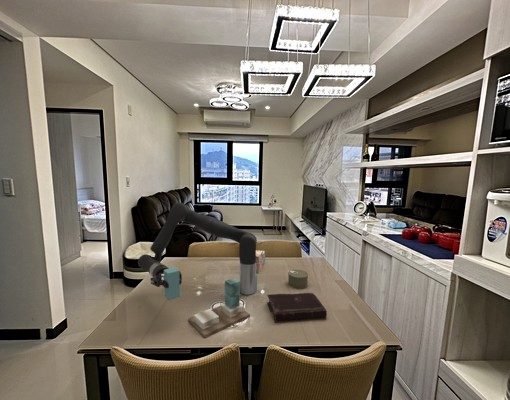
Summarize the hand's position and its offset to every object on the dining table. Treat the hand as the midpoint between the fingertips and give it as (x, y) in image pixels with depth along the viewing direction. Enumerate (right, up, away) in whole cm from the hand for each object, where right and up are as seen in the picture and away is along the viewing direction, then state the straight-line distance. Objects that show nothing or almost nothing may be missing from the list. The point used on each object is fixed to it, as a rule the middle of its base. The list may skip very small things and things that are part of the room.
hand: (174, 284), depth 108 cm
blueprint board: (+19, -19, +7) cm, 27 cm away
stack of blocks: (+37, -12, +71) cm, 81 cm away
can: (+61, -15, +45) cm, 78 cm away
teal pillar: (-2, -6, +3) cm, 7 cm away
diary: (+55, -19, +16) cm, 60 cm away
